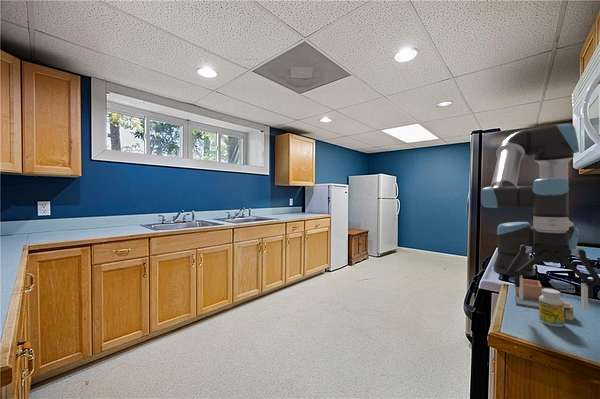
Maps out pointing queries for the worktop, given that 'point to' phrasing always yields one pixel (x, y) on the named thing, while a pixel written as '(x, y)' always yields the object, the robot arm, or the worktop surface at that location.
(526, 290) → the pink square bin
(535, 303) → the slate coaster
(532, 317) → the worktop surface
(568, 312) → the letter cube
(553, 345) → the worktop surface
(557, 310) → the supplement bottle
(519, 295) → the robot arm
